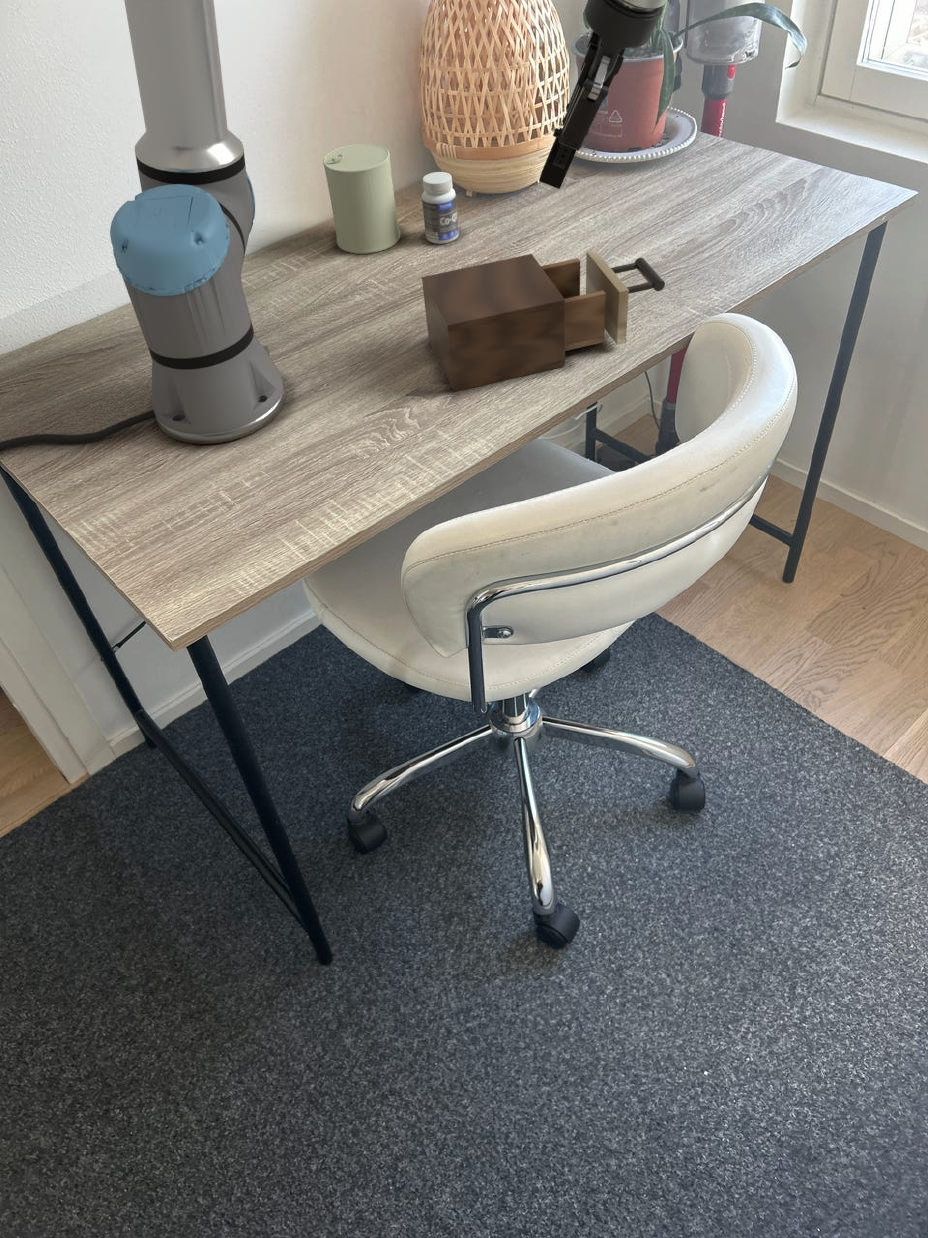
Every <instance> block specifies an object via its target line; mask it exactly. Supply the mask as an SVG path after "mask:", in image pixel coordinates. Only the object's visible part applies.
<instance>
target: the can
mask: <svg viewBox="0 0 928 1238" xmlns="http://www.w3.org/2000/svg"><path fill="white" fill-rule="evenodd" d="M390 156H391V155H390V151H389V149H388V148H386V147H385V146H383V145H381V144H375V143H369V142H367V143H366V142H365V143H364V142H363V143H352V144H347V145H343V146H340V147H337V148H335V149H333V150H331V151H329V152H328V153H326V154H325V156H324V157H323V160H322V164H323V168H324V173H325V177H326V183H327V188H328V193H329V194H328V195H329V198H330V204H331V211H332V217H333V221H334V229H335V234H336V244H337V246H338V248H340V250H342V251H344V252H347V253H351V254H356V255H357V254H358V255H359V254H360V255H365V254H366V255H368V254H376V253H378V252H381V251H385V250H387V249H389V248H392V247H393V246H395V245H396V244H397V243H398V242H399V241H400V238H401V231H400V228H399V221H398V215H397V214H398V213H397V207H396V200H395V191H394V186H393V176H392V167H391V159H390V158H391V157H390Z"/></svg>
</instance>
